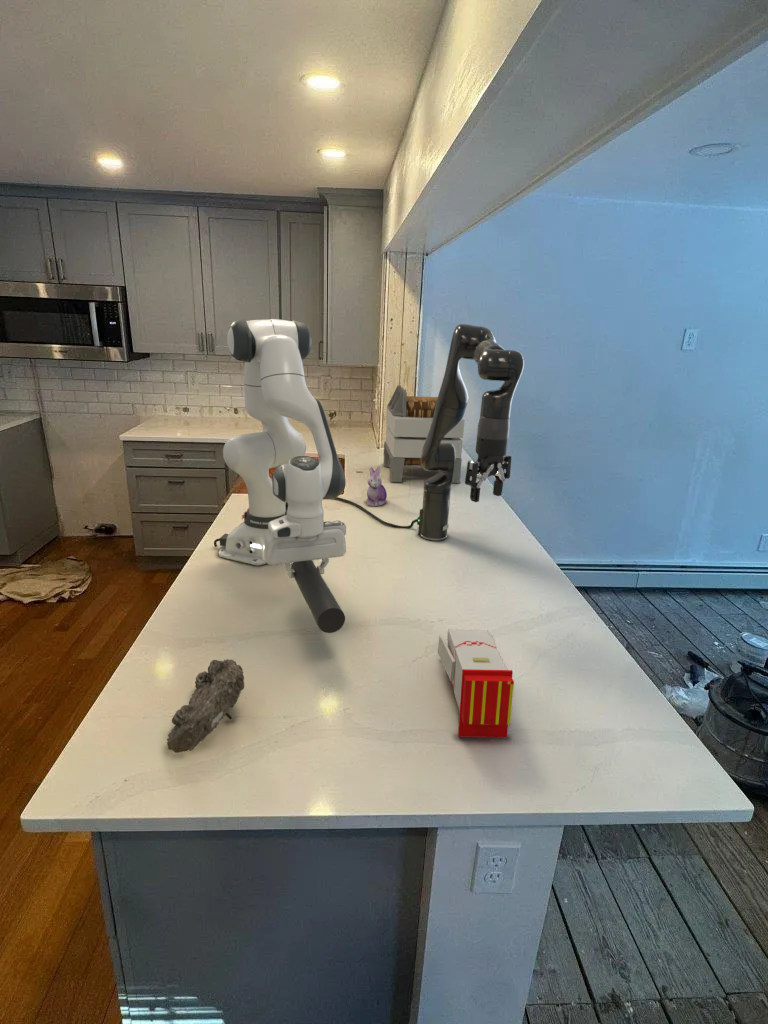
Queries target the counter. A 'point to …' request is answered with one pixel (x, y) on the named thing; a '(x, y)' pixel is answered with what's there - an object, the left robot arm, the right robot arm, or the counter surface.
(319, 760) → the counter surface
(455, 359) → the right robot arm
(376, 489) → the figurine
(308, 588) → the rod
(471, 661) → the toy
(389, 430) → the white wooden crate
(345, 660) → the counter surface
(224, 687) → the fossil
